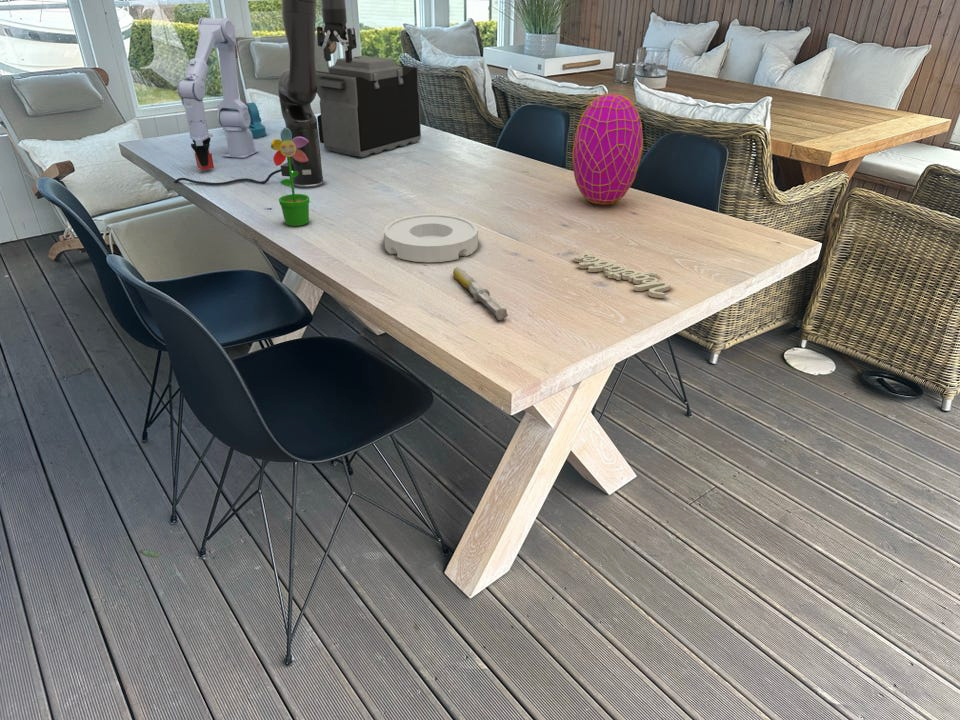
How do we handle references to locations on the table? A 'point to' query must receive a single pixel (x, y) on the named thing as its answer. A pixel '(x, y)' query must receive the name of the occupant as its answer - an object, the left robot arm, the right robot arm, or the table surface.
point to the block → (210, 162)
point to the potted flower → (291, 178)
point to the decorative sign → (625, 274)
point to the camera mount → (254, 121)
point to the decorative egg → (607, 148)
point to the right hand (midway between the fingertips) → (338, 61)
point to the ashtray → (431, 237)
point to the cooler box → (368, 106)
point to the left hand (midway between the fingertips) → (205, 163)
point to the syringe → (479, 293)
